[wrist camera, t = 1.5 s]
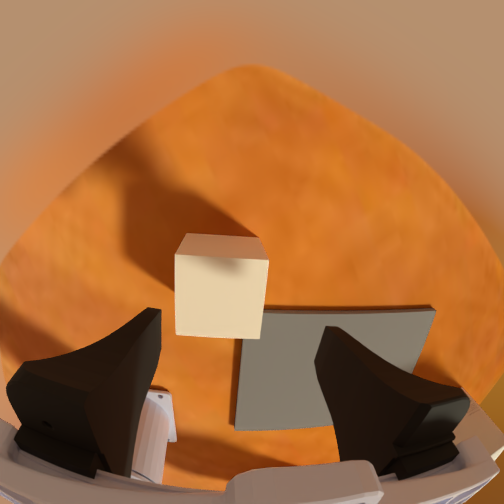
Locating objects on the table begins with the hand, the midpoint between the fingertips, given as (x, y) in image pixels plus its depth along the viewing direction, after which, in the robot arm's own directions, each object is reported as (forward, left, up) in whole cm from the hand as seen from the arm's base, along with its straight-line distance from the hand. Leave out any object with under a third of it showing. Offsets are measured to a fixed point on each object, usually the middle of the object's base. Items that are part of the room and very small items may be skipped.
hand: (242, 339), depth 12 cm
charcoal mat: (+10, -10, -9) cm, 17 cm away
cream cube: (-1, 0, -9) cm, 9 cm away
